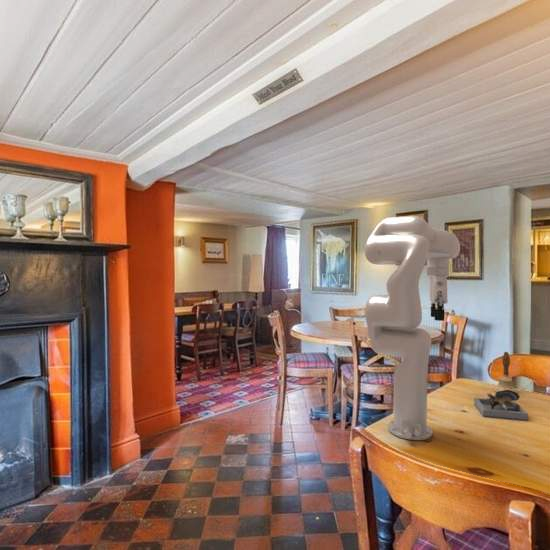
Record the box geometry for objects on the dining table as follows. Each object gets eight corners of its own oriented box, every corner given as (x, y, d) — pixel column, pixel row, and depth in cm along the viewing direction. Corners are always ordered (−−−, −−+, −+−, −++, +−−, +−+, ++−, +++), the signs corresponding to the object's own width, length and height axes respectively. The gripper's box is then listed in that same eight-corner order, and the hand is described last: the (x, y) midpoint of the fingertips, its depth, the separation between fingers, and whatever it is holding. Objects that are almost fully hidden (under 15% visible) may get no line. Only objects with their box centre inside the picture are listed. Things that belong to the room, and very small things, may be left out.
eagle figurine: (497, 412, 126) (524, 402, 124) (485, 391, 130) (511, 382, 128) (494, 416, 132) (520, 407, 130) (482, 396, 136) (507, 387, 135)
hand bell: (521, 396, 146) (522, 355, 146) (498, 394, 148) (498, 353, 148) (512, 389, 155) (513, 350, 154) (490, 388, 156) (491, 349, 156)
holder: (527, 421, 123) (527, 413, 123) (483, 416, 126) (483, 409, 126) (514, 407, 135) (514, 400, 134) (474, 404, 138) (474, 397, 138)
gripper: (453, 273, 132) (452, 322, 133) (444, 272, 149) (444, 316, 150) (430, 273, 134) (429, 321, 135) (424, 272, 151) (423, 315, 151)
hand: (437, 318), depth 142 cm, fingers open, 9 cm apart
